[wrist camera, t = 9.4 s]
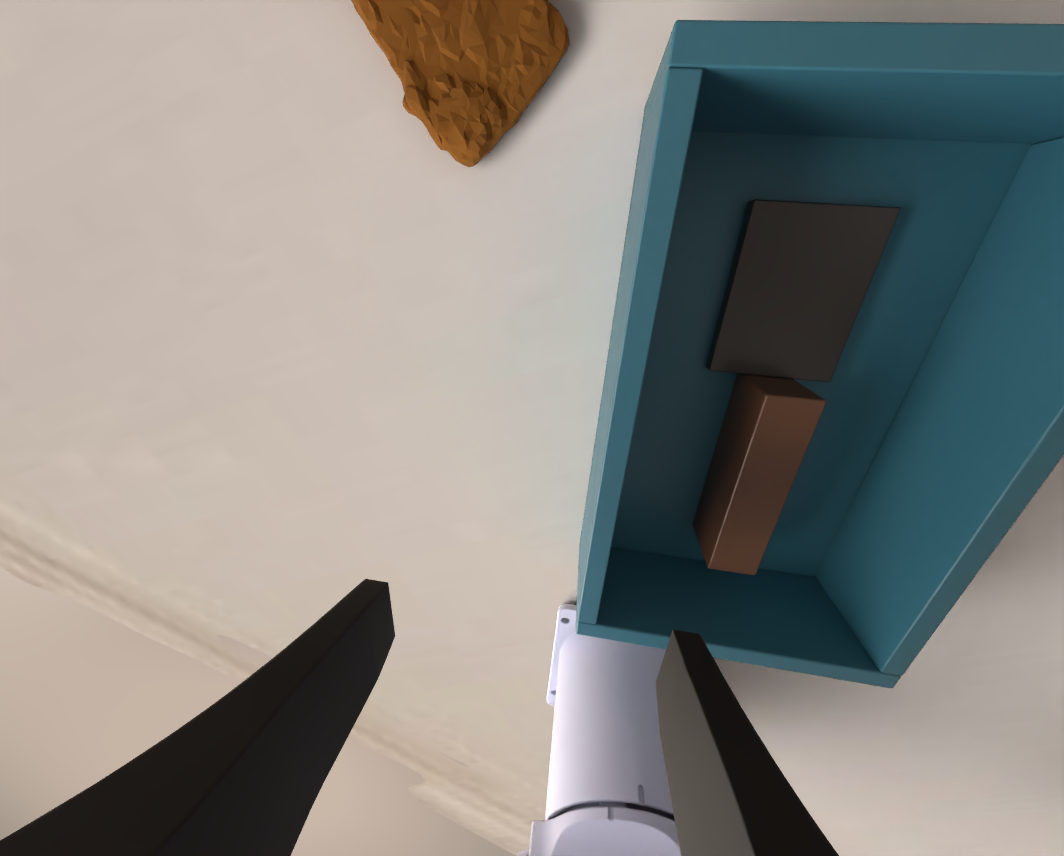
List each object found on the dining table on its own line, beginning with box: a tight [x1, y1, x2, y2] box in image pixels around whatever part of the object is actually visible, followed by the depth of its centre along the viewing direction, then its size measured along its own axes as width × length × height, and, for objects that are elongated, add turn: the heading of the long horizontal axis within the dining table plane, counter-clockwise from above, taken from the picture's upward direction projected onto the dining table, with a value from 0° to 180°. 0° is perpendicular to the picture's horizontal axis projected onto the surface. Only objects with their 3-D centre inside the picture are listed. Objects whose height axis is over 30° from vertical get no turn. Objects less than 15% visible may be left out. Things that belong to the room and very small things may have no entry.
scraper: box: [692, 199, 901, 575], centre depth 15 cm, size 14×5×3 cm, turn 176°
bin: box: [575, 20, 1064, 688], centre depth 14 cm, size 20×13×6 cm, turn 176°
